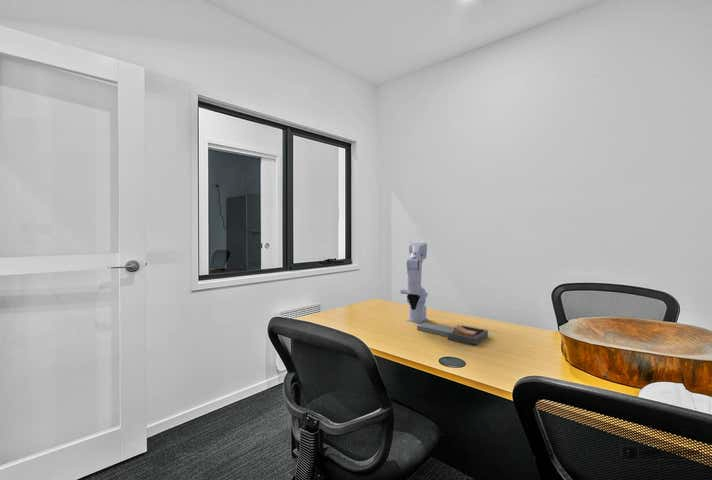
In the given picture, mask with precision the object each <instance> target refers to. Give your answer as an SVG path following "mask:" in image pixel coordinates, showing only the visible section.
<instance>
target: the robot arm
mask: <svg viewBox="0 0 712 480" xmlns="http://www.w3.org/2000/svg"><path fill="white" fill-rule="evenodd" d="M408 244H409V245H408V250H409V251H408V252H409V253H408V254H409V258H408V259H407V261H406V271H407V272H406V273H407V289H402V288H401V289H400V292H399V293H400V294H401V295H402V294H403V295H406V302H407V303H408V304H409V318H408V319H406V321H407V322H412V323H415V324H422V323H424V322H426V321H427V320H428V318H427V306H426V305H425V304H426V303H427V297H428V294H429V293H428V292H426V289H425V288H423V287H422V273H423V272H422V271H423V270H422V269H423V268H422V267H423V261H424V260H425V259H427V257H428V256H427V253H428V252H427V251H428V244H427V243H426V242H410V243H408Z"/></svg>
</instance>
